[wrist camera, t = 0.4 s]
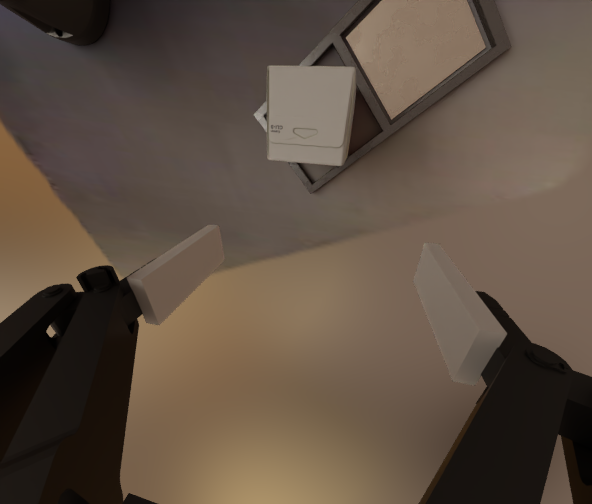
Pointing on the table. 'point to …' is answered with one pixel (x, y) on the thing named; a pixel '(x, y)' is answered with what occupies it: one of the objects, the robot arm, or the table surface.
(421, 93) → the grey flat rectangular frame
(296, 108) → the ink box
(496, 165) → the table surface
